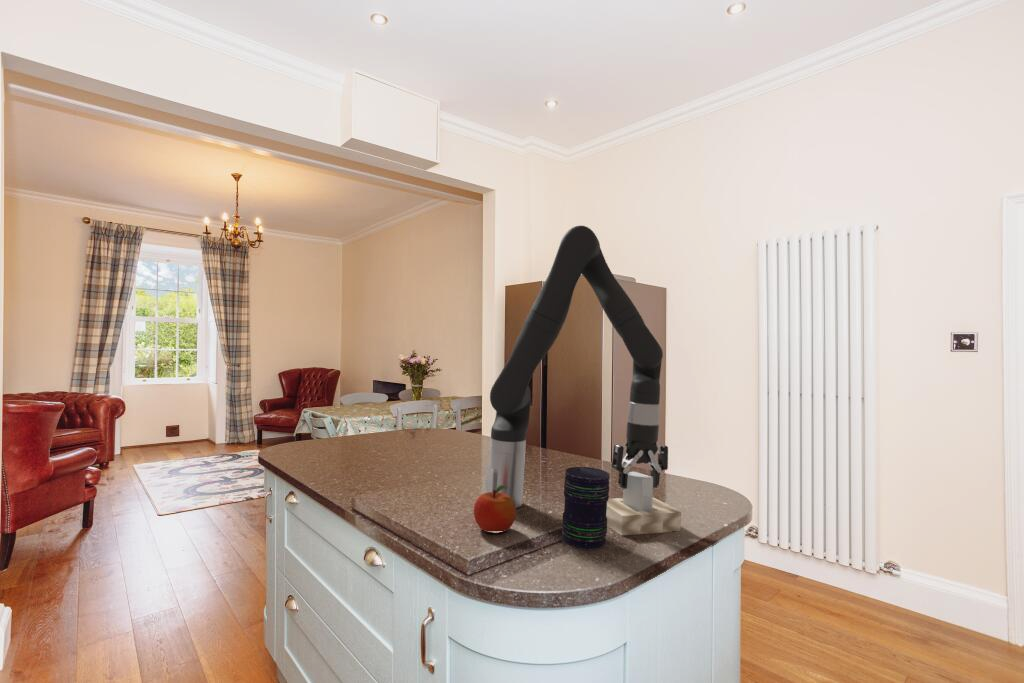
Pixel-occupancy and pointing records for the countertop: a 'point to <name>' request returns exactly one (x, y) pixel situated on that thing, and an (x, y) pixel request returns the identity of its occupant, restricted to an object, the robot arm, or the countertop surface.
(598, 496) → the storage jar
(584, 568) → the countertop surface
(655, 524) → the well block
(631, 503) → the skincare box
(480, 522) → the fruit
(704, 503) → the countertop surface
